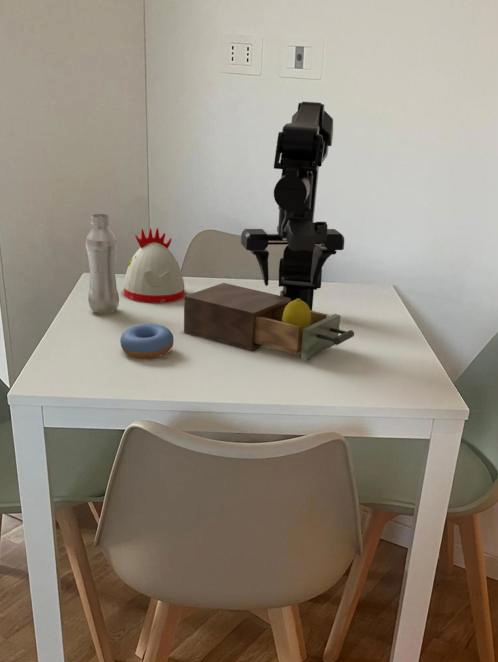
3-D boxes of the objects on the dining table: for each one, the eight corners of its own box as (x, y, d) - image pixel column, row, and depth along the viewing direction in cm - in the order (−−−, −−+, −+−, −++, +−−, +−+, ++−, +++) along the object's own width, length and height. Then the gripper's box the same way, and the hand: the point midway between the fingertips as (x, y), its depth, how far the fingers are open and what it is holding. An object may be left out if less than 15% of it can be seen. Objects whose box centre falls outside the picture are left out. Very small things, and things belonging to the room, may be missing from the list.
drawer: (359, 349, 157) (363, 320, 154) (329, 366, 147) (332, 336, 145) (271, 326, 166) (273, 299, 163) (237, 341, 157) (238, 312, 154)
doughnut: (130, 364, 146) (129, 340, 144) (113, 346, 154) (113, 323, 152) (181, 358, 150) (181, 334, 148) (163, 341, 158) (162, 318, 156)
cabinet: (288, 334, 165) (290, 298, 162) (251, 351, 155) (253, 312, 152) (222, 317, 173) (223, 282, 170) (183, 332, 163) (184, 295, 159)
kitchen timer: (121, 286, 191) (119, 221, 183) (178, 285, 194) (179, 221, 187) (127, 303, 179) (126, 234, 172) (188, 302, 182) (189, 234, 175)
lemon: (315, 339, 157) (318, 299, 153) (295, 345, 153) (299, 304, 150) (294, 332, 160) (297, 292, 156) (275, 337, 157) (277, 297, 153)
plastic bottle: (124, 309, 175) (122, 214, 165) (110, 318, 169) (106, 220, 160) (98, 305, 177) (94, 211, 167) (82, 313, 171) (77, 216, 161)
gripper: (255, 209, 138) (250, 298, 146) (357, 209, 142) (348, 296, 150) (242, 197, 148) (238, 281, 155) (339, 198, 152) (331, 280, 159)
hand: (289, 284), depth 155 cm, fingers open, 9 cm apart
